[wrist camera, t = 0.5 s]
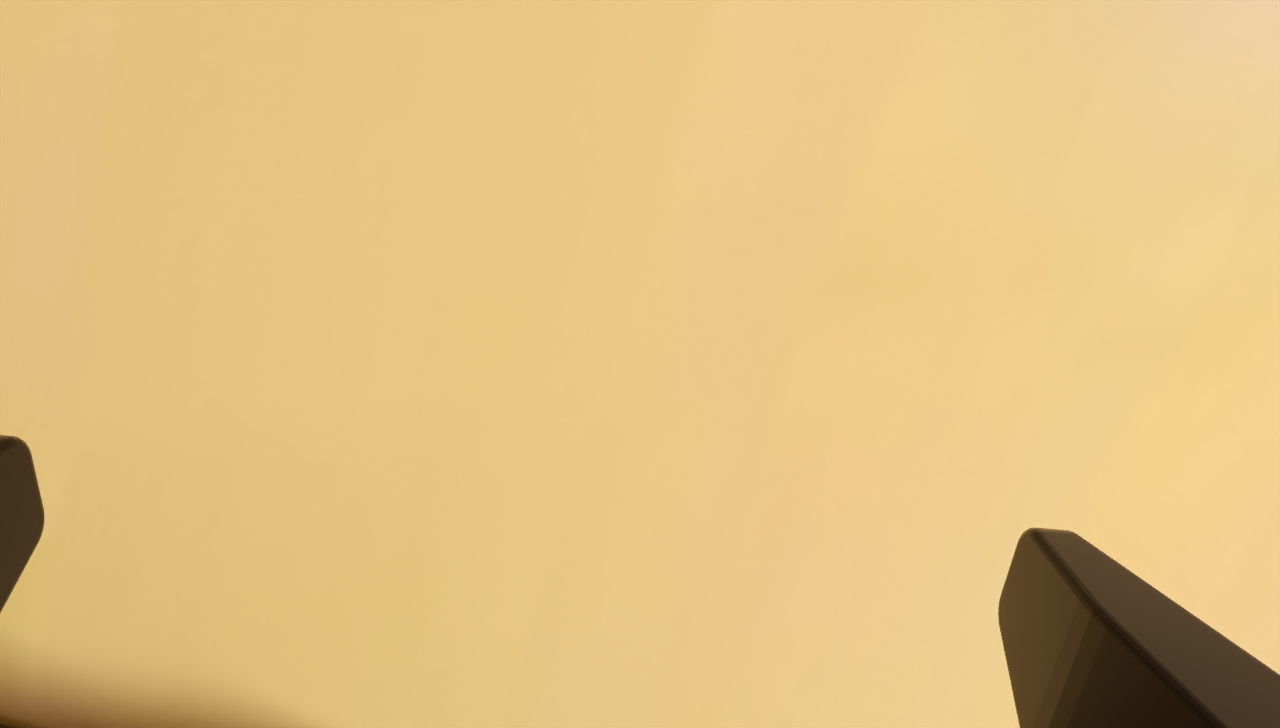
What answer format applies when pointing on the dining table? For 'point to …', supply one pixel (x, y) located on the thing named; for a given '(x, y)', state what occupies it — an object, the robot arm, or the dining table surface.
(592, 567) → the dining table surface
